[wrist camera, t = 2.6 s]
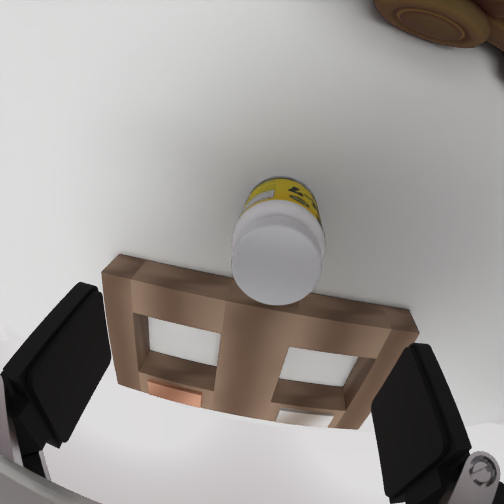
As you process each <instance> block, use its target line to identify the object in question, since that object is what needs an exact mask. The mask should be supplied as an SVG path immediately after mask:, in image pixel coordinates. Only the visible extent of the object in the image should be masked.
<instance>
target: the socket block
mask: <svg viewBox="0 0 504 504" xmlns="http://www.w3.org/2000/svg"><path fill="white" fill-rule="evenodd" d="M101 273H102V284H103V293H104V302H105V310H106V317H107V324H108V331H109V337H110V343H111V349H112V355H113V360H114V366H115V371H116V376H117V381H118V384H120V385H123V386H126V387H129V388H132V389H136V390H139V391H142V392H145V393H148V394H150V395H154V396H157V397H160V398H164V399H167V400H171V401H175V402H179V403H183V404H186V405H191V406H195V407H199V408H200V407H201V408H205V409H210V410H214V411H219V412H224V413H229V414H234V415H239V416H245V417H250V418H256V419H262V420H268V421H275V422H279V423H286V424H294V425H302V426H312V427H322V428H327V427H328V428H341V429H359V428H360V426H361V425H362V423H363V422H364V421H365V419H366V418H367V417H368V415H369V414H370V412H371V404H372V401H373V399H374V398H375V396H376V395H377V393H378V391H379V390H380V388H381V387H382V385H383V384H384V382H385V380H386V379H387V377H388V376H389V374H390V372H391V371H392V369H393V367H394V366H395V364H396V362H397V360H398V359H399V357H400V355H401V353H402V352H403V350H404V349H405V348H406V347H409V345H410V344H412V343H414V342H415V340H416V339H417V337H418V335H419V330H418V328H417V326H416V324H415V322H414V319H413V317H412V315H411V313H410V311H409V310H406V309H400V308H394V307H388V306H382V305H376V304H370V303H364V302H358V301H352V300H346V299H341V298H335V297H329V296H324V295H318V294H313V293H309V294H308V295H307V296H305V297H304V298H303V299H301V300H299V301H297V302H294V303H291V304H287V305H268V304H264V303H261V302H258V301H256V300H254V299H252V298H250V297H249V296H248V295H246V294H245V293H244V292H243V291H242V290H241V289H240V287H239V286H238V285H237V283H236V281H235V279H234V278H229V277H224V276H219V275H214V274H209V273H204V272H200V271H195V270H190V269H185V268H180V267H176V266H171V265H166V264H162V263H157V262H153V261H148V260H143V259H139V258H134V257H130V256H125V255H121V254H119V255H118V256H117V257H116V258H115V259H114V260H113V261H112V262H111V263H110V264H109V265H108V266H107V267H106V268H105V269H104V270H103V271H102V272H101ZM148 316H149V317H153V318H156V319H160V320H164V321H168V322H173V323H177V324H181V325H185V326H189V327H194V328H198V329H202V330H207V331H211V332H216V333H221V341H220V348H219V356H218V363H217V367H214V366H210V365H205V364H201V363H197V362H193V361H188V360H184V359H180V358H176V357H172V356H168V355H165V354H161V353H157V352H154V351H150V349H149V332H148ZM289 347H295V348H302V349H308V350H314V351H321V352H328V353H335V354H343V355H350V356H358V357H359V358H358V360H357V362H356V364H355V366H354V368H353V370H352V371H351V373H350V375H349V377H348V379H347V381H346V383H345V385H344V387H336V386H327V385H319V384H311V383H304V382H297V381H290V380H284V379H279V376H280V373H281V370H282V367H283V364H284V361H285V357H286V354H287V351H288V348H289Z"/></svg>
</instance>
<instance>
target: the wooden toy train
mask: <svg viewBox="0 0 504 504" xmlns="http://www.w3.org/2000/svg"><path fill="white" fill-rule="evenodd" d="M373 1H374V3H375V6H376V8H377V10H378V11H379V13H380V14H381V15H382V17H383V18H385V19H386V20H387V21H388V22H389V23H390V24H392V25H394V26H396V27H397V28H399V29H401V30H403V31H405V32H407V33H410V34H412V35H414V36H417V37H420V38H422V39H425V40H428V41H431V42H435V43H438V44H442V45H447V46H451V47H459V48H473V47H476V46H478V45H480V44H482V43H484V42H485V41H487V42H489V43H490V44H492V45H494V46H495V47H497V48H498V49H500V50H502V51H503V52H504V0H373Z"/></svg>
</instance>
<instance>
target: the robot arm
mask: <svg viewBox="0 0 504 504" xmlns="http://www.w3.org/2000/svg"><path fill="white" fill-rule="evenodd" d="M110 361H111V350H110V344H109V338H108V332H107V326H106V319H105V311H104V304H103V296H102V293H101V292H99V291H98V288H97V287H96V286H94V285H90V284H86V283H83V282H79V283H77V284H76V285H75V286H74V287H73V288H72V289H71V290H70V291H69V293H68V294H67V295H66V296H65V297H64V298H63V299H62V300H61V301H60V302H59V303H58V304H57V306H56V307H55V308H54V309H53V310H52V311H51V312H50V313H49V314H48V315H47V317H46V318H45V319H44V320H43V321H42V322H41V323H40V325H39V326H38V327H37V328H36V329H35V330H34V331H33V333H32V334H31V335H30V336H29V337H28V338H27V340H26V341H25V342H24V343H23V344H22V346H21V347H20V348H19V349H18V351H17V352H16V353H15V354H14V355H13V357H12V358H11V359H10V360H9V362H8V363H7V364H6V366H5V367H4V368H3V371H2V373H1V374H0V504H101V503H99V502H96V501H94V500H91V499H89V498H86V497H84V496H82V495H79V494H77V493H75V492H73V491H70V490H68V489H66V488H64V487H62V486H59V485H57V484H55V483H53V482H52V481H51V478H50V475H49V472H48V468H47V465H46V462H45V458H44V454H43V451H42V450H43V448H44V446H45V444H46V443H48V444H50V445H52V446H55V447H57V448H60V446H61V444H62V442H64V443H65V442H67V441H68V440H69V438H70V436H71V434H72V432H73V430H74V428H75V426H76V424H77V423H78V421H79V419H80V417H81V415H82V413H83V411H84V409H85V407H86V405H87V404H88V402H89V400H90V398H91V396H92V395H93V393H94V391H95V389H96V387H97V385H98V384H99V382H100V380H101V378H102V376H103V375H104V373H105V371H106V369H107V368H108V366H109V364H110ZM371 413H372V418H373V423H374V429H375V434H376V440H377V445H378V451H379V457H380V464H381V470H382V476H383V484H384V491H385V494H386V496H388V497H389V500H390V504H393V503H402V502H406V504H504V484H503V483H502V482H500V481H499V480H500V468H499V465H498V463H497V461H496V460H495V458H494V457H493V456H491V455H490V454H489V453H486V452H483V451H477V452H474V453H472V454H471V455H470V453H469V450H470V449H471V448H472V446H471V444H470V441H469V438H468V435H467V432H466V430H465V427H464V424H463V421H462V419H461V416H460V414H459V411H458V408H457V406H456V403H455V401H454V398H453V396H452V394H451V391H450V389H449V386H448V384H447V382H446V379H445V377H444V375H443V372H442V370H441V368H440V366H439V363H438V361H437V359H436V357H435V355H434V353H433V350H432V348H431V347H430V345H428V344H422V343H412V344H410V345H409V347H406V348H405V349H404V350H403V352H402V353H401V355H400V357H399V359H398V360H397V362H396V364H395V366H394V367H393V369H392V371H391V372H390V374H389V376H388V377H387V379H386V380H385V382H384V384H383V385H382V387H381V388H380V390H379V391H378V393H377V395H376V396H375V398H374V399H373V401H372V404H371Z"/></svg>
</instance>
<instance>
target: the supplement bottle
mask: <svg viewBox="0 0 504 504" xmlns="http://www.w3.org/2000/svg"><path fill="white" fill-rule="evenodd" d="M232 250H233V254H232V260H231V268H232V273H233V276H234V279H235V281H236V283H237V285H238V286H239V287H240V289H241V290H242V291H243V292H244V293H245V294H246V295H248V296H249V297H250V298H252V299H254V300H256V301H258V302H261V303H264V304H268V305H287V304H291V303H294V302H297V301H299V300H301V299H303V298H304V297H305V296H307V295H308V294H309V293H310V292H311V291H312V290H313V289H314V287H315V286H316V284H317V282H318V280H319V277H320V274H321V262H322V260H323V257H324V252H325V236H324V232H323V228H322V224H321V220H320V216H319V212H318V207H317V203H316V200H315V198H314V196H313V194H312V193H311V191H310V190H309V189H308V188H307V187H306V186H305V185H304V184H302V183H301V182H299V181H298V180H295V179H293V178H289V177H273V178H269V179H267V180H265V181H263V182H261V183H260V184H258V185H257V186H256V187H255V188H254V189H253V191H252V192H251V194H250V195H249V198H248V200H247V201H246V204H245V206H244V208H243V210H242V212H241V214H240V216H239V218H238V221H237V223H236V225H235V227H234V230H233V235H232Z"/></svg>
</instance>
